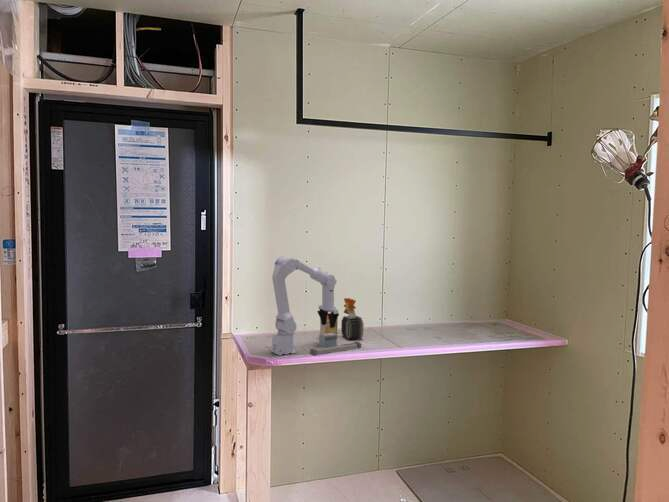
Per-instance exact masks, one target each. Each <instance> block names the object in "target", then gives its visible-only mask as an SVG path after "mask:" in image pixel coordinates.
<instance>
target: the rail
mask: <svg viewBox="0 0 669 502" xmlns="http://www.w3.org/2000/svg"><path fill="white" fill-rule="evenodd" d="M355 349H362V343H361V342H357V341H354V342H351V343H345V344H337V346H330V347H319V348H318V347H317V348H309V353H311V354H310V355H312V354H313V355H312V356H317V355H324V354H331V353H336V352H343V351H349V350H355Z"/></svg>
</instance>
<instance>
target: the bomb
mask: <svg viewBox="0 0 669 502" xmlns="http://www.w3.org/2000/svg"><path fill="white" fill-rule="evenodd" d="M343 301H344V303H345V304H343V307H344V310H343V313H344V314H346V315H344V316H343V317H342V319H341V325H340V326H341V329H340V330H341V335H342V338H344V339H346V340H347V341H352V340H353V341H354V340H362V338H363V336H364V324H365V323H364V321H363V320H362V319H363V318H362V317H361V316H358V315H356V312H355V309H356V306H355V305H356V302H357V301H356V299H352V298H349V297H347V298H346V297H345V298H343ZM347 315H348V316H347Z"/></svg>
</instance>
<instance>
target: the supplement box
mask: <svg viewBox="0 0 669 502" xmlns="http://www.w3.org/2000/svg"><path fill="white" fill-rule="evenodd" d="M338 318H339V316H338V317H337V320H336V323H335V327H334V328H330V322H329V317H328V315H327V322H326V325H322V323H321V319H320V318H319V319H320V324H319V332H320V333H319V334H327V333H333V334H336V335H337V336H338V323H339V322H338Z"/></svg>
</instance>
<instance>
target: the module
mask: <svg viewBox="0 0 669 502" xmlns="http://www.w3.org/2000/svg"><path fill="white" fill-rule="evenodd" d="M337 339H338V334H337V335H336V334H333V333H327V334H320V333H319V334H318V345H319V346H320V347H321V348H323V347H330V346H337V345H338V344H337Z"/></svg>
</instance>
